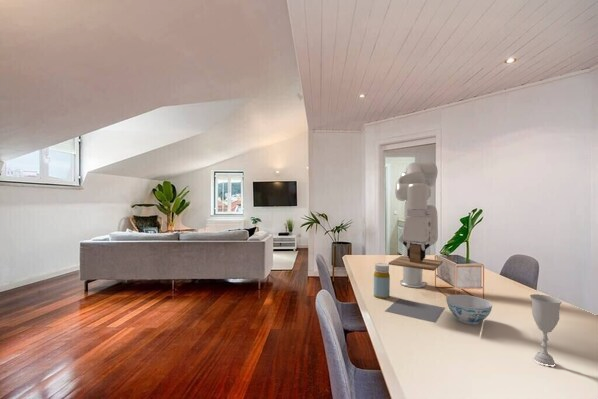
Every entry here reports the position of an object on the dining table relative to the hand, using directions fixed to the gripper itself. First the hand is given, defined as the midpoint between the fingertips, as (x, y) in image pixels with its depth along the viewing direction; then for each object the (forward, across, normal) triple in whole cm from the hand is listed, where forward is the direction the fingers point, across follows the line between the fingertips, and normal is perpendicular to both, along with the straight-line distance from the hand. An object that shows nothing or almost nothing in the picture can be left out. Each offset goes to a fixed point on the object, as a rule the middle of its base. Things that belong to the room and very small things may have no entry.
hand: (416, 258), depth 126 cm
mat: (+21, 0, 0) cm, 21 cm away
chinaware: (+21, -19, 0) cm, 29 cm away
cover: (+2, 0, 0) cm, 2 cm away
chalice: (+21, -40, +20) cm, 50 cm away
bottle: (+21, +17, -8) cm, 28 cm away
